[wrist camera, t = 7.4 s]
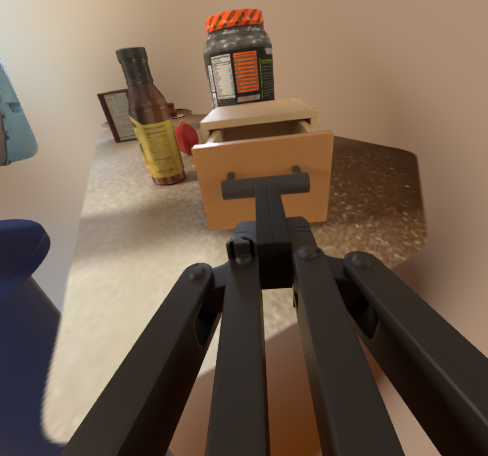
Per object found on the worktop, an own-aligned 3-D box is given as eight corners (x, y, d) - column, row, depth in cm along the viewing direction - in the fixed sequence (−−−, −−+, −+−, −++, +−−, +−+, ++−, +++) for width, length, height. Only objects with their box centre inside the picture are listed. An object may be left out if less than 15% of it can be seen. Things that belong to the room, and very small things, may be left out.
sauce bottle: (160, 175, 48) (122, 53, 37) (190, 173, 47) (160, 47, 36) (146, 189, 42) (97, 49, 32) (180, 186, 42) (141, 42, 31)
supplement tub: (252, 131, 75) (242, 24, 61) (288, 136, 63) (286, 6, 50) (207, 143, 68) (185, 24, 54) (239, 151, 56) (222, 4, 42)
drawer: (339, 246, 22) (351, 145, 17) (202, 256, 23) (178, 163, 18) (302, 173, 38) (303, 111, 33) (222, 181, 39) (212, 121, 34)
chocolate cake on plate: (158, 117, 141) (154, 103, 137) (188, 113, 140) (185, 99, 137) (149, 122, 126) (144, 107, 122) (182, 117, 125) (179, 102, 121)
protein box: (145, 131, 99) (132, 88, 91) (145, 137, 87) (130, 88, 79) (118, 136, 97) (102, 92, 89) (115, 143, 84) (95, 92, 76)
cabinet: (314, 196, 33) (319, 108, 27) (215, 205, 34) (198, 122, 28) (296, 160, 46) (296, 97, 40) (225, 168, 47) (215, 107, 41)
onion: (174, 155, 60) (165, 121, 56) (195, 150, 62) (188, 116, 58) (183, 160, 56) (174, 123, 51) (205, 153, 58) (198, 118, 54)
